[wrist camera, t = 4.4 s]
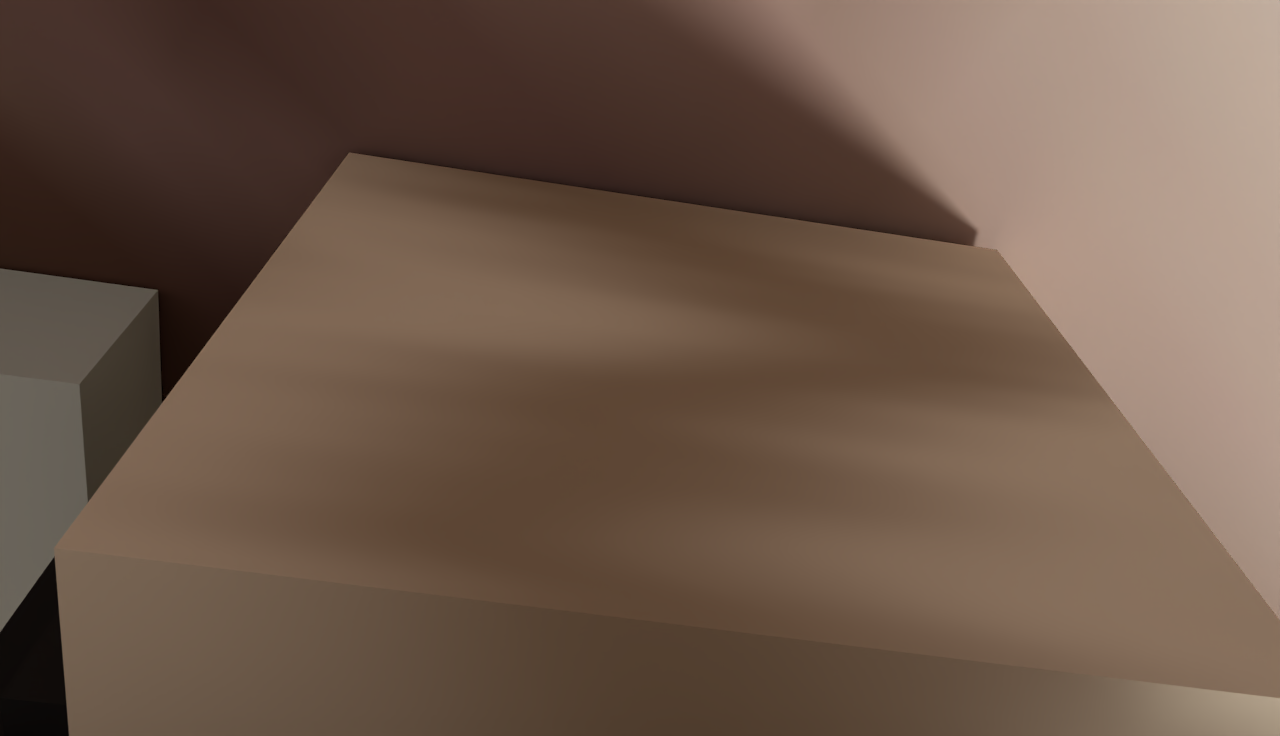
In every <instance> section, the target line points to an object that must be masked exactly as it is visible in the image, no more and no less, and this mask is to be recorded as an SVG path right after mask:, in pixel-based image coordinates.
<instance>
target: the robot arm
mask: <svg viewBox="0 0 1280 736" xmlns="http://www.w3.org/2000/svg"><path fill="white" fill-rule="evenodd" d="M0 736H69V728H68V716H67V704H66V691H65V679H64V666H63V654H62V642H61V629H60V617H59V605H58V592H57V580H56V567H55V556H54V558H53V559H52V560H51V562H50V563H49V565H48V566H47V567H46V569H45V570H44V571H43V573H42V574H41V576H40V577H39V578H38V580H37V581H36V583H35V584H34V585H33V587H32V588H31V590H30V591H29V592H28V594H27V595H26V597H25V598H24V599H23V601H22V602H21V604H20V605H19V606H18V608H17V609H16V611H15V612H14V613H13V615H12V616H11V618H10V619H9V620H8V622H7V623H6V625H5V626H4V627H3V629H2V630H1V632H0Z"/></svg>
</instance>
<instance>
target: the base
mask: <svg viewBox="0 0 1280 736" xmlns="http://www.w3.org/2000/svg"><path fill="white" fill-rule="evenodd" d="M161 404H162V389H161V360H160V331H159V301H158V290H154V289H147V288H140V287H132V286H125V285H118V284H110V283H103V282H96V281H88V280H81V279H74V278H66V277H59V276H52V275H44V274H37V273H30V272H22V271H15V270H8V269H0V632H1V630H2V629H3V627H4V626H5V625H6V623H7V622H8V620H9V619H10V618H11V616H12V615H13V613H14V612H15V611H16V609H17V608H18V606H19V605H20V604H21V602H22V601H23V599H24V598H25V597H26V595H27V594H28V592H29V591H30V590H31V588H32V587H33V585H34V584H35V583H36V581H37V580H38V578H39V577H40V576H41V574H42V573H43V571H44V570H45V569H46V567H47V566H48V565H49V563H50V562H51V560H52V559H53V558H54V556H55V555H54V547H55V546H56V545H57V543H58V542H59V541H60V539H61V538H62V537H63V535H64V534H65V533H66V531H67V530H68V529H69V527H70V526H71V524H72V523H73V522H74V520H75V519H76V518H77V516H78V515H79V514H80V512H81V511H82V510H83V508H84V507H85V506H86V504H87V503H88V502H89V500H90V499H91V498H92V496H93V495H94V494H95V492H96V491H97V490H98V488H99V487H100V486H101V484H102V483H103V482H104V480H105V479H106V478H107V476H108V475H109V474H110V472H111V471H112V470H113V468H114V467H115V466H116V464H117V463H118V462H119V460H120V459H121V457H122V456H123V455H124V453H125V452H126V451H127V449H128V448H129V447H130V445H131V444H132V443H133V441H134V440H135V439H136V437H137V436H138V435H139V433H140V432H141V431H142V429H143V428H144V427H145V425H146V424H147V423H148V421H149V420H150V419H151V417H152V416H153V415H154V413H155V412H156V411H157V409H158V408H159V407H160V405H161Z"/></svg>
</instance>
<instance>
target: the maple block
mask: <svg viewBox="0 0 1280 736" xmlns="http://www.w3.org/2000/svg"><path fill="white" fill-rule="evenodd" d="M54 555H55V567H56V580H57V592H58V605H59V617H60V629H61V642H62V654H63V666H64V679H65V691H66V704H67V716H68V728H69V736H1280V620H1279V619H1278V617H1277V616H1276V615H1275V614H1274V612H1273V611H1272V610H1271V608H1270V607H1269V606H1268V604H1267V603H1266V602H1265V600H1264V599H1263V598H1262V596H1261V595H1260V594H1259V593H1258V591H1257V590H1256V589H1255V587H1254V586H1253V585H1252V583H1251V582H1250V581H1249V579H1248V578H1247V577H1246V576H1245V574H1244V573H1243V572H1242V570H1241V569H1240V568H1239V566H1238V565H1237V564H1236V562H1235V561H1234V560H1233V558H1232V557H1231V556H1230V555H1229V553H1228V552H1227V551H1226V549H1225V548H1224V547H1223V545H1222V544H1221V543H1220V541H1219V540H1218V539H1217V538H1216V536H1215V535H1214V534H1213V532H1212V531H1211V530H1210V528H1209V527H1208V526H1207V524H1206V523H1205V522H1204V521H1203V519H1202V518H1201V517H1200V515H1199V514H1198V513H1197V511H1196V510H1195V509H1194V507H1193V506H1192V505H1191V503H1190V502H1189V501H1188V500H1187V498H1186V497H1185V496H1184V494H1183V493H1182V492H1181V490H1180V489H1179V488H1178V486H1177V485H1176V484H1175V483H1174V481H1173V480H1172V479H1171V477H1170V476H1169V475H1168V473H1167V472H1166V471H1165V469H1164V468H1163V467H1162V465H1161V464H1160V463H1159V462H1158V460H1157V459H1156V458H1155V456H1154V455H1153V454H1152V452H1151V451H1150V450H1149V448H1148V447H1147V446H1146V445H1145V443H1144V442H1143V441H1142V439H1141V438H1140V437H1139V435H1138V434H1137V433H1136V431H1135V430H1134V429H1133V427H1132V426H1131V425H1130V424H1129V422H1128V421H1127V420H1126V418H1125V417H1124V416H1123V414H1122V413H1121V412H1120V410H1119V409H1118V408H1117V407H1116V405H1115V404H1114V403H1113V401H1112V400H1111V399H1110V397H1109V396H1108V395H1107V393H1106V392H1105V391H1104V389H1103V388H1102V387H1101V386H1100V384H1099V383H1098V382H1097V380H1096V379H1095V378H1094V376H1093V375H1092V374H1091V372H1090V371H1089V370H1088V369H1087V367H1086V366H1085V365H1084V363H1083V362H1082V361H1081V359H1080V358H1079V357H1078V355H1077V354H1076V353H1075V352H1074V350H1073V349H1072V348H1071V346H1070V345H1069V344H1068V342H1067V341H1066V340H1065V338H1064V337H1063V336H1062V334H1061V333H1060V332H1059V331H1058V329H1057V328H1056V327H1055V325H1054V324H1053V323H1052V321H1051V320H1050V319H1049V317H1048V316H1047V315H1046V314H1045V312H1044V311H1043V310H1042V308H1041V307H1040V306H1039V304H1038V303H1037V302H1036V300H1035V299H1034V298H1033V296H1032V295H1031V294H1030V293H1029V291H1028V290H1027V289H1026V287H1025V286H1024V285H1023V283H1022V282H1021V281H1020V279H1019V278H1018V277H1017V276H1016V274H1015V273H1014V272H1013V270H1012V269H1011V268H1010V266H1009V265H1008V264H1007V262H1006V261H1005V260H1004V258H1003V257H1002V256H1001V255H1000V253H999V252H998V251H997V250H994V249H987V248H981V247H974V246H967V245H961V244H954V243H948V242H941V241H934V240H928V239H921V238H914V237H908V236H901V235H894V234H888V233H881V232H874V231H868V230H861V229H854V228H848V227H841V226H834V225H828V224H821V223H815V222H808V221H801V220H795V219H788V218H781V217H775V216H768V215H761V214H755V213H748V212H741V211H735V210H728V209H721V208H715V207H708V206H701V205H695V204H688V203H681V202H675V201H668V200H662V199H655V198H648V197H642V196H635V195H628V194H622V193H615V192H608V191H602V190H595V189H588V188H582V187H575V186H568V185H562V184H555V183H548V182H542V181H535V180H529V179H522V178H515V177H509V176H502V175H495V174H489V173H482V172H475V171H469V170H462V169H455V168H449V167H442V166H435V165H429V164H422V163H415V162H409V161H402V160H395V159H389V158H382V157H376V156H369V155H362V154H356V153H348V155H347V156H346V157H345V159H344V160H343V161H342V163H341V164H340V165H339V167H338V168H337V169H336V171H335V172H334V173H333V175H332V176H331V177H330V179H329V180H328V181H327V183H326V184H325V186H324V187H323V188H322V190H321V191H320V192H319V194H318V195H317V196H316V198H315V199H314V200H313V202H312V203H311V204H310V206H309V207H308V208H307V210H306V211H305V212H304V214H303V215H302V216H301V218H300V219H299V220H298V222H297V223H296V224H295V226H294V227H293V228H292V230H291V231H290V232H289V234H288V235H287V236H286V238H285V239H284V240H283V242H282V243H281V244H280V246H279V247H278V248H277V250H276V251H275V252H274V254H273V255H272V257H271V258H270V259H269V261H268V262H267V263H266V265H265V266H264V267H263V269H262V270H261V271H260V273H259V274H258V275H257V277H256V278H255V279H254V281H253V282H252V283H251V285H250V286H249V287H248V289H247V290H246V291H245V293H244V294H243V295H242V297H241V298H240V299H239V301H238V302H237V303H236V305H235V306H234V307H233V309H232V310H231V311H230V313H229V314H228V315H227V317H226V318H225V319H224V321H223V322H222V324H221V325H220V326H219V328H218V329H217V330H216V332H215V333H214V334H213V336H212V337H211V338H210V340H209V341H208V342H207V344H206V345H205V346H204V348H203V349H202V350H201V352H200V353H199V354H198V356H197V357H196V358H195V360H194V361H193V362H192V364H191V365H190V366H189V368H188V369H187V370H186V372H185V373H184V374H183V376H182V377H181V378H180V380H179V381H178V382H177V384H176V385H175V386H174V388H173V389H172V391H171V392H170V393H169V395H168V396H167V397H166V399H165V400H164V401H163V403H162V404H161V405H160V407H159V408H158V409H157V411H156V412H155V413H154V415H153V416H152V417H151V419H150V420H149V421H148V423H147V424H146V425H145V427H144V428H143V429H142V431H141V432H140V433H139V435H138V436H137V437H136V439H135V440H134V441H133V443H132V444H131V445H130V447H129V448H128V449H127V451H126V452H125V453H124V455H123V456H122V457H121V459H120V460H119V462H118V463H117V464H116V466H115V467H114V468H113V470H112V471H111V472H110V474H109V475H108V476H107V478H106V479H105V480H104V482H103V483H102V484H101V486H100V487H99V488H98V490H97V491H96V492H95V494H94V495H93V496H92V498H91V499H90V500H89V502H88V503H87V504H86V506H85V507H84V508H83V510H82V511H81V512H80V514H79V515H78V516H77V518H76V519H75V520H74V522H73V523H72V524H71V526H70V527H69V529H68V530H67V531H66V533H65V534H64V535H63V537H62V538H61V539H60V541H59V542H58V543H57V545H56V546H55V547H54Z"/></svg>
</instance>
